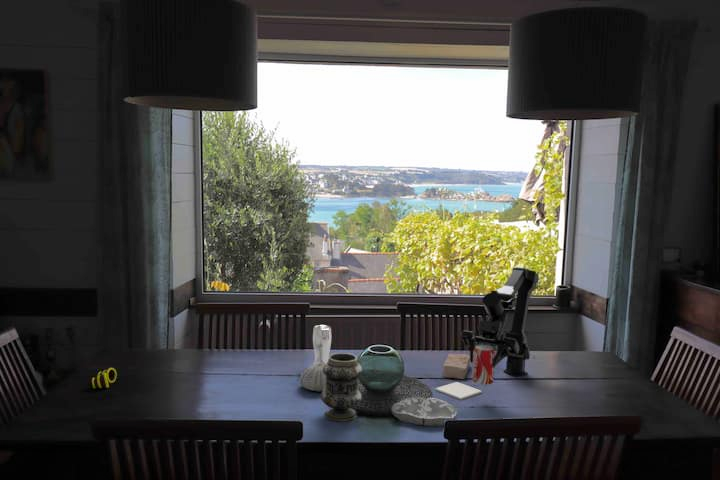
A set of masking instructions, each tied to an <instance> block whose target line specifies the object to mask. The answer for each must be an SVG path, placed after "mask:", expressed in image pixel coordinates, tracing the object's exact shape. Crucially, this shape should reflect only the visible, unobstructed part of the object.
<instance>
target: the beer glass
mask: <svg viewBox="0 0 720 480" xmlns="http://www.w3.org/2000/svg"><path fill="white" fill-rule="evenodd" d="M312 331H313V332H312V345H313V350H314V351H313V352H314V362H313V364H317V363H318V364H325V363H327V362H328V359H329V356H330V351H331V344H332V327H331V326H329V325H327V324H326V325H325V324H319V325H314V327H313V330H312Z"/></svg>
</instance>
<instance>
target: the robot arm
mask: <svg viewBox="0 0 720 480" xmlns="http://www.w3.org/2000/svg"><path fill="white" fill-rule="evenodd" d="M539 281H540V275H539V274H538V273H537V271H536V270H530V269H529V268H526V267H521V266H513V268H512V271H511V274H510V275H509V276H508V278H507V280H506V282H505V283H504V285H503V286H502V287H499V288H497V289H496V290H491V291H490V292H489V293H487V294H485V295H484V296H483V298H482V304H483V306H484V309H485V311H486V314H487V315H489V316H488V319H487V320H484V319H483V320H482V319H479V321H478V328H477V330H478V331H480V332H479V334H480V336H478V335H476V333H475V331H472V330H466V329H464V330H463V331H461V333H460V336H459V337H460V339H461V341H462V343H463V345H464V346H468V348H469V356H470V364H473V351H474V349H475V346H476V345H478V343H480V344H483V345H490V346H496V347H497V350H496V352H495V358H494V360H493V364H492V367H495V368H496V366H497V365H498V364H499V363H500V362H501V361H502V360H503V359H505V358H506V364H505V365H506V366H505V369H503V372H504V373H507V374H509V375H512V376H515V377H519V376H524V375H528V374H529V373H528V371H526V368H525V367H526V361H527V360H530V357H531V351H530V348H529V345H528V339H527V335H526V334H525V328H526V321H527V316H528V311H529V305H530V298H531V294H533V292H534V291H535V290H536V289H537V285H538V283H539ZM513 308H514V311H513V316H512V317H513V318H512V324H511V329H510V330H509V331H508V332H506V333H505V335H504V328H505V324H506V322H507V321H508V315H509V314H508V312H507V311H508V310H509V311H511V310H513ZM503 335H504V336H505V337H504V338H503V339H502V340H501V337H502V336H503Z"/></svg>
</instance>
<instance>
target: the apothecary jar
mask: <svg viewBox="0 0 720 480" xmlns="http://www.w3.org/2000/svg"><path fill="white" fill-rule="evenodd" d="M323 373H324V374H325V375H326V389H324V391H321V395H320V397H321V401H322V402H323V403H324V404H325V405H326V406H327V407H329V409H327V410H325V411H324V417H325V418H326V419H327V420H330V421H335V422H348V421H352V420H354V419H356V418H357V417H358V416H357V414H358V412H357V411H356V410H355V409H353V408H354V407H356V406H358V405H359V404H360V403H361V401H362V399H363V398H362V394H361V392H360V390H359V389H358V386H359V384H358V383H359V377H360V376H362V373H363V368H362V365H361V363H360V362H359V363H358V358H357V356H356V354H355V355H354V354H353V353H348V352H335V353H331V354H329V359H328V362H327V363H325V365H324V366H323Z"/></svg>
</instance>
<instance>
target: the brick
mask: <svg viewBox="0 0 720 480" xmlns="http://www.w3.org/2000/svg"><path fill="white" fill-rule="evenodd" d="M470 364H471V362H470V354H465V353H463V354H461V353H448V355H447V358H446V360H445V362H444V363H443V369H442V376H443V377H445V378H446V377H447V378H455V379H461V380H463V379H465V378H466V376H467V373H468V372H469V371H468V370H469V368H470Z"/></svg>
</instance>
